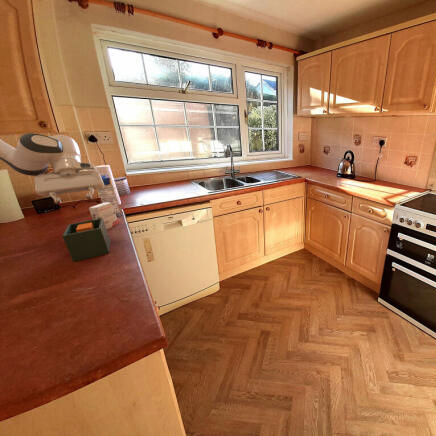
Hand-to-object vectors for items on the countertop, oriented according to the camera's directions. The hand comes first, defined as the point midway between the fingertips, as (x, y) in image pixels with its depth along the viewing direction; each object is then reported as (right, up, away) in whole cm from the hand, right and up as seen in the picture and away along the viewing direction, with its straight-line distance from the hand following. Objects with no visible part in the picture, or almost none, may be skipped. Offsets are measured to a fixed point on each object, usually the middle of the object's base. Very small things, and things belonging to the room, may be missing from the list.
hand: (74, 200), depth 93 cm
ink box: (-10, -11, +31) cm, 35 cm away
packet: (+1, -19, +8) cm, 21 cm away
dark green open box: (+1, -20, +8) cm, 22 cm away
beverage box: (-20, -5, +48) cm, 52 cm away
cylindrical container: (-32, +2, +66) cm, 73 cm away
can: (-45, +12, +90) cm, 102 cm away
